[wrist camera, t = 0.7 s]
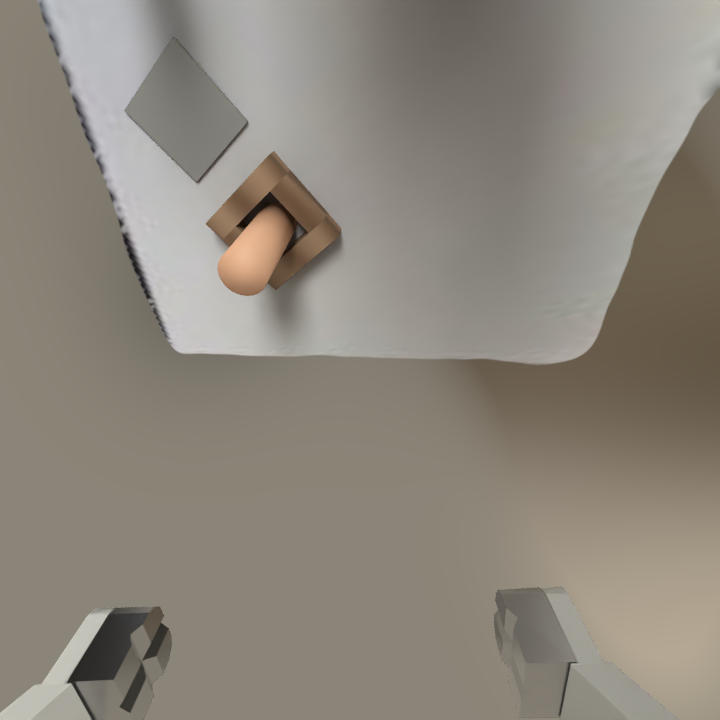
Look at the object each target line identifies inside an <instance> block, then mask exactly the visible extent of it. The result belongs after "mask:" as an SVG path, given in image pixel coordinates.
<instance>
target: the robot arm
mask: <svg viewBox="0 0 720 720" xmlns="http://www.w3.org/2000/svg"><path fill="white" fill-rule="evenodd" d="M495 601H496V604H497V607H498V611H497V612H496V613H495V614H494V628H495V637H496V641H497V645H498V649H499V653H500V656H501V660H502V661H503V662H504V663H505V664H506V665H507V666H508V667H509V669H510V670H509V681H508V683H509V686H510V689H511V693H512V696H513V699H514V703H515V706H516V709H517V712H518V715H519V718H560V720H679V719H678V718H677V717H676V716H675V715H673V714H672V713H671V712H670V711H669V710H667V709H666V708H665V707H664V706H663V705H662V704H660V703H659V702H658V701H657V700H656V699H654V698H653V697H652V696H651V695H650V694H649V693H647V692H646V691H645V690H644V689H643V688H641V687H640V686H639V685H638V684H637V683H635V682H634V681H633V680H632V679H631V678H630V677H629V676H627V675H626V674H625V673H624V672H623V671H622V670H620V669H619V668H618V667H617V666H616V665H614V664H613V663H612V662H604V660H603V658H602V657H601V655H600V653H599V651H598V649H597V647H596V645H595V643H594V641H593V640H592V638H591V636H590V634H589V632H588V630H587V628H586V626H585V624H584V622H583V621H582V619H581V617H580V615H579V613H578V611H577V609H576V608H575V605H574V604H573V602H572V600H571V598H570V596H569V594H568V592H567V591H566V590H565V589H564V588H563V587H551V588H539V587H538V588H522V589H506V590H498V591H497V592H496V599H495ZM163 617H164V615H163V612H162V610H161V608H160V607H122V608H118V607H116V608H96V609H95V610H93V611H92V612H91V613H90V614H89V615H88V616H87V617H86V619H85V620H84V622H83V623H82V625H81V626H80V628H79V629H78V631H77V632H76V634H75V635H74V637H73V638H72V640H71V641H70V643H69V644H68V646H67V647H66V649H65V650H64V651H63V653H62V655H61V656H60V657H59V659H58V660H57V662H56V663H55V665H54V666H53V668H52V669H51V671H50V672H49V674H48V675H47V677H46V678H45V680H44V681H43V683H42V684H38V685H34V686H33V687H32V688H30V689H29V690H28V691H27V692H25V693H24V694H23V695H22V696H21V697H19V698H18V699H17V700H16V701H14V702H13V703H12V704H11V705H10V706H8V707H7V708H6V709H5V710H3V711H2V712H1V713H0V720H144V718H145V716H146V713H147V711H148V709H149V706H150V704H151V702H152V699H153V697H154V692H153V687H152V685H153V684H154V683H155V682H156V681H157V680H158V678H159V677H160V676H162V675H163V673H164V671H165V669H166V666H167V663H168V661H169V657H170V652H171V647H172V638H171V633H170V630H169V628H168V627H166V626H165V625H164V624H162V623H161V621H162V619H163Z"/></svg>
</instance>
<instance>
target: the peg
mask: <svg viewBox="0 0 720 720" xmlns="http://www.w3.org/2000/svg"><path fill="white" fill-rule="evenodd" d="M295 229H296V219H295V218H294V217H293V216H292V215H291V213H290V212H289V211H288V210H287V209H286V208H285V207H284V206H283V205H282V204H280V203H270V204H267V205H266V206H264V207H263V208H262V209H261V211H260V212H259V213H258V214H257V215H256V217H255V218H254V219H253V220H252V221H251V222H250V224H249V225H248V226H247V227H246V228H245V230H244V231H243V232H242V233H241V234H240V235H239V237H238V238H237V239H236V240H235V241H234V243H233V244H232V245H231V246H230V247H229V249H228V250H227V251H226V252H225V253H224V254H223V256H222V257H221V258H220V260H219V263H218V273H219V276H220V279H221V280H222V282H223V283H224V285H225V286H226V287H227V288H229V289H230V290H231V291H233V292H235V293H237V294H240V295H245V296H251V295H255V294H258V293H259V292H261V291H262V290H263V289H264V288H265V286H266V284H267V282H268V280H269V279H270V277H271V275H272V273H273V271H274V269H275V267H276V266H277V264H278V262H279V260H280V258H281V256H282V254H283V252H284V251H285V249H286V247H287V245H288V243H289V241H290V239H291V238H292V236H293V234H294V232H295Z"/></svg>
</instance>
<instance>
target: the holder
mask: <svg viewBox="0 0 720 720" xmlns="http://www.w3.org/2000/svg"><path fill="white" fill-rule="evenodd" d="M269 192H271V193H272V194H273V195H274V196H275V197H276V198H277V199H278V200H279V202H280V203H281V204H282V205H283V206H284V207H285V208H286V209H287V210H288V211H289V212H290V213H291V215H292V216H293V217H294V218H295V219H296V220H297V221H298V222H299V223H300V224H301V225H302V226H303V228H304V229H305V230H306V232H305V233H304V234H303V235H301V236H300V237H299V238H298V239H297V240H296V241H295V242H294V243H293V244H292V245H290V246H289V247H288V248H287V249H286V250H285V251H284V252H283V254H282V256H281V258H280V260H279V262H278V264H277V266H276V267H275V269H274V271H273V273H272V275H271V277H270V279H269V280H268V283H269V284H270V285H271V286H272V287H273V288H274V289H275V290H277V289H278V288H279V287H280V286H281V285H282V284H284V283H285V282H286V281H287V280H288V279H289V278H291V277H292V276H293V275H294V274H295V273H296V272H298V271H299V270H300V269H301V268H302V267H303V266H305V265H306V264H307V263H308V262H309V261H310V260H312V259H313V258H314V257H315V256H316V255H317V254H319V253H320V252H321V251H322V250H323V249H324V248H326V247H327V246H328V245H329V244H330V243H331V242H333V241H334V240H335V239H336V238H337V237H338V236H339V234H340V230H341V228H340V227H339V225H338V224H337V223H336V222H335V221H334V220H333V219H332V217H331V216H330V215H329V214H328V213H327V212H326V211H325V209H324V208H323V207H322V206H321V205H320V204H319V202H318V201H317V200H316V199H315V198H314V197H313V196H312V194H311V193H310V192H309V191H308V190H307V189H306V188H305V186H304V185H303V184H302V183H301V182H300V181H299V180H298V178H297V177H296V176H295V175H294V174H293V173H292V172H291V170H290V169H289V168H288V167H287V166H286V165H285V164H284V162H283V161H282V160H281V159H280V158H279V157H278V156H277V154H276V153H275V152H272V153H271V154H270V155H269V156H267V158H266V159H265V160H264V161H263V162H262V163H261V164H260V165H259V166H258V167H257V168H256V169H255V171H254V172H253V173H252V174H251V175H250V176H249V177H248V178H247V179H246V180H245V181H244V183H243V184H242V185H241V186H240V187H239V188H238V189H237V190H236V191H235V192H234V193H233V194H232V196H231V197H230V198H229V199H228V200H227V201H226V202H225V203H224V204H223V205H222V206H221V208H220V209H219V210H218V211H217V212H216V213H215V214H214V215H213V216H212V217H211V218H210V219H209V221H208V222H207V223H206V225H207V226H208V227H209V228H211V229H212V230H213V231H214V232H215V233H216V234H217V235H218V236H219V237H220V238H221V239H222V240H223V241H224V242H225V243H226V244H227V245H229V246H231V245H232V244H233V243H234V241H235V240H236V239H237V238H238V237H239V235H240V234H241V233H242V232H243V231H244V230H245V228H246V227H247V226H248V224H247V223H246V222H245V221H244V220H243V218H244V217H245V216H246V215H247V214H248V213H249V212H250V211H251V210H252V209H253V208H254V207H255V206H256V205H257V204H258V203H259V202H260V201H261V200H262V199H263V198H264V197H265V196H266V195H267V194H268V193H269Z"/></svg>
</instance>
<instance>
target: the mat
mask: <svg viewBox="0 0 720 720" xmlns="http://www.w3.org/2000/svg"><path fill="white" fill-rule="evenodd" d="M124 111H125V112H126V113H127V114H128V115H129V116H130V117H131V118H132V119H133V120H134V121H135V122H136V123H137V124H138V125H139V126H140V127H141V128H142V129H143V130H144V131H145V132H146V133H147V134H148V135H149V136H150V137H151V138H152V139H153V140H154V141H155V142H156V143H157V144H158V145H159V146H160V147H161V148H162V149H163V150H164V151H165V152H166V153H167V154H168V155H169V156H170V157H171V158H173V159H174V160H175V161H176V162H177V163H178V164H179V165H180V166H181V167H182V168H183V169H184V170H185V171H186V172H187V173H188V174H189V175H190V176H191V177H192V178H193V179H194V180H195V181H196V182H197V181H198V180H199V179H200V178H201V177H202V176H203V174H204V173H205V172H206V171H207V170H208V169H209V167H210V166H211V165H212V164H213V163H214V161H215V160H216V159H217V158H218V157H219V156H220V154H221V153H222V152H223V151H224V150H225V148H226V147H227V146H228V145H229V144H230V143H231V141H232V140H233V139H234V138H235V137H236V136H237V134H238V133H239V132H240V131H241V130H242V128H243V127H244V126H245V125H246V124H247V123H248V121H247V120H246V119H245V118H244V117H243V115H242V114H241V113H240V112H239V111H238V110H237V109H236V107H235V106H234V105H233V104H232V103H231V102H230V101H229V99H228V98H227V97H226V96H225V95H224V94H223V93H222V91H221V90H220V89H219V88H218V87H217V86H216V85H215V83H214V82H213V81H212V80H211V79H210V78H209V76H208V75H207V74H206V73H205V72H204V71H203V70H202V68H201V67H200V66H199V65H198V64H197V63H196V62H195V60H194V59H193V58H192V57H191V56H190V55H189V54H188V52H187V51H186V50H185V49H184V48H183V47H182V46H181V44H180V43H179V42H178V41H177V40H176V39H175V38H174V37H173V38H172V39H171V41H170V42H169V44H168V45H167V47H166V48H165V50H164V51H163V53H162V54H161V56H160V57H159V59H158V60H157V62H156V63H155V65H154V66H153V68H152V69H151V71H150V72H149V74H148V75H147V77H146V78H145V80H144V82H143V83H142V85H141V86H140V88H139V89H138V91H137V92H136V94H135V95H134V97H133V98H132V100H131V101H130V103H129V104H128V106H127V107H126V109H125V110H124Z"/></svg>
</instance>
